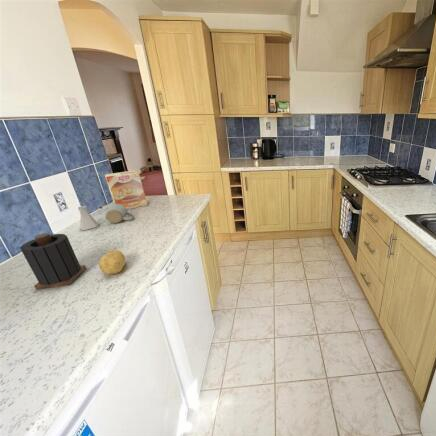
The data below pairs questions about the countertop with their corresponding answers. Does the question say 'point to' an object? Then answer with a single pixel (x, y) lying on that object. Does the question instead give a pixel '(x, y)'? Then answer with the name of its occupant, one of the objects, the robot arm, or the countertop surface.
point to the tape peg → (44, 240)
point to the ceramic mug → (118, 213)
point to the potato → (112, 262)
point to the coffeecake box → (126, 189)
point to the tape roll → (51, 260)
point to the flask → (86, 219)
